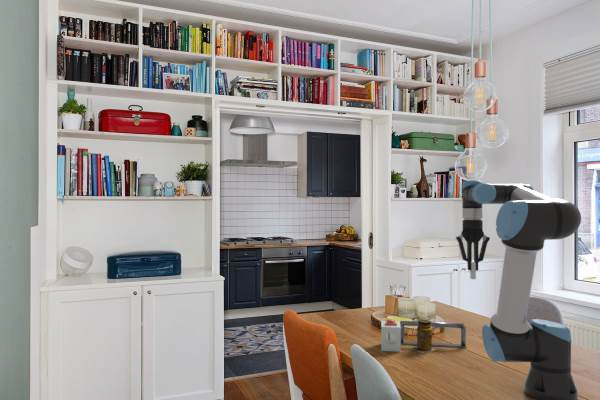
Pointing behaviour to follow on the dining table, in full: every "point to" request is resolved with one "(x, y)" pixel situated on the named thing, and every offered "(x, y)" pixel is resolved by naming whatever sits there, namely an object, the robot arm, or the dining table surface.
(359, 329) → the dining table surface
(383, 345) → the cabinet
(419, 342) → the condiment
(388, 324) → the plunger
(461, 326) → the handrail
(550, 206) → the robot arm
